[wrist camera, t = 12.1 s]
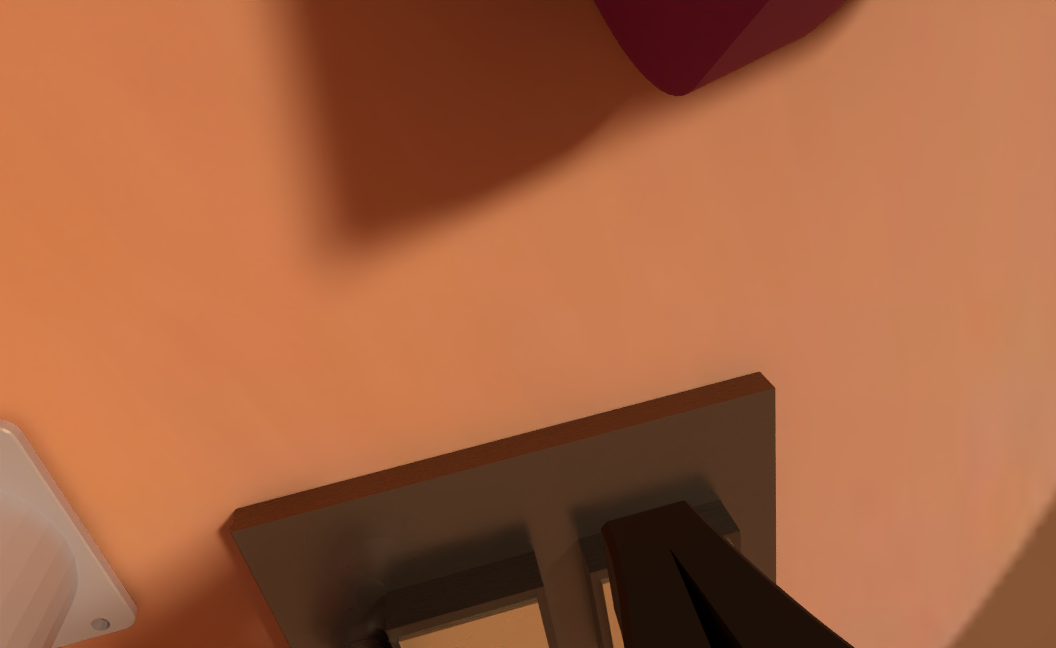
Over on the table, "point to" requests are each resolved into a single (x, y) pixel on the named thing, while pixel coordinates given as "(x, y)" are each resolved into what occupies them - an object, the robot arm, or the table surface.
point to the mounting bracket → (706, 35)
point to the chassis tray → (511, 527)
